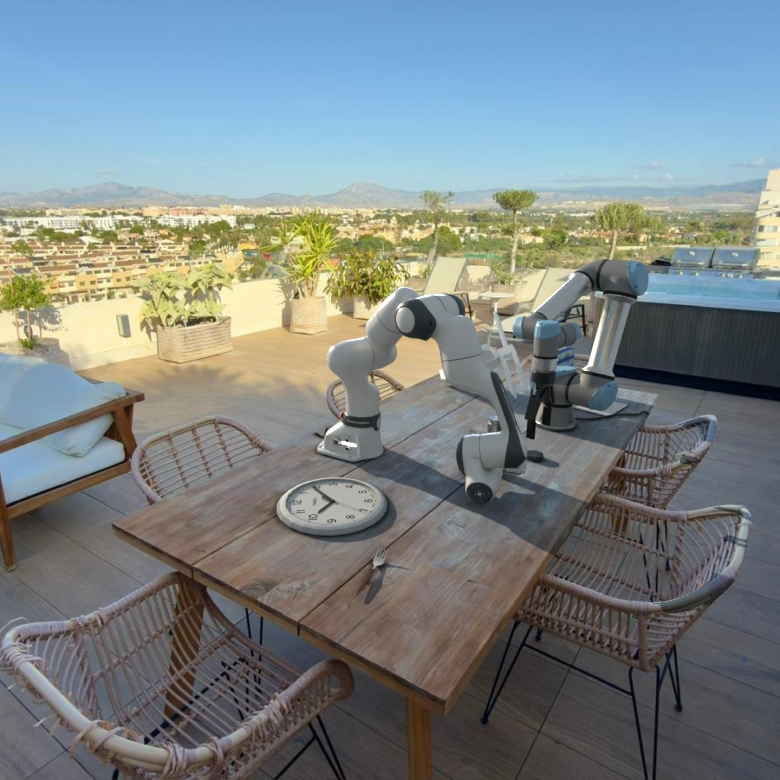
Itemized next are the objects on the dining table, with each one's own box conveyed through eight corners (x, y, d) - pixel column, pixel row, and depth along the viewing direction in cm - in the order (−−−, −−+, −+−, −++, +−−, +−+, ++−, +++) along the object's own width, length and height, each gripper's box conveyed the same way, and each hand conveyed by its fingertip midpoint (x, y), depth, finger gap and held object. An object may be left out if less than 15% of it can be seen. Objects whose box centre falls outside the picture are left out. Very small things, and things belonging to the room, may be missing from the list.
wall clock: (392, 527, 129) (268, 531, 127) (391, 533, 130) (269, 537, 127) (383, 473, 158) (282, 475, 155) (383, 478, 158) (282, 480, 156)
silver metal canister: (503, 473, 163) (508, 420, 158) (488, 475, 162) (492, 421, 156) (496, 466, 168) (500, 414, 162) (481, 468, 166) (485, 415, 161)
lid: (525, 453, 178) (525, 449, 177) (542, 455, 176) (543, 451, 176) (524, 460, 173) (525, 455, 172) (542, 462, 171) (543, 458, 171)
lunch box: (546, 398, 236) (551, 353, 229) (525, 393, 243) (529, 349, 237) (573, 387, 253) (579, 344, 247) (553, 382, 260) (558, 341, 254)
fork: (350, 595, 108) (350, 587, 107) (378, 552, 122) (379, 545, 122) (362, 598, 107) (362, 590, 106) (389, 555, 121) (389, 547, 121)
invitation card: (608, 416, 214) (573, 407, 224) (608, 416, 214) (573, 408, 224) (628, 404, 229) (594, 396, 238) (628, 405, 229) (594, 397, 238)
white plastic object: (461, 429, 252) (437, 405, 227) (444, 352, 274) (420, 323, 250) (535, 404, 240) (518, 377, 215) (510, 326, 262) (492, 293, 237)
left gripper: (526, 464, 147) (529, 445, 159) (454, 453, 153) (463, 436, 165) (523, 484, 149) (527, 464, 161) (453, 473, 155) (462, 454, 167)
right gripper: (546, 359, 177) (541, 417, 184) (516, 377, 158) (511, 441, 165) (568, 362, 173) (562, 422, 180) (540, 381, 154) (534, 447, 161)
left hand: (494, 450), depth 163 cm, fingers closed on silver metal canister, 5 cm apart
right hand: (538, 431), depth 172 cm, fingers open, 13 cm apart
